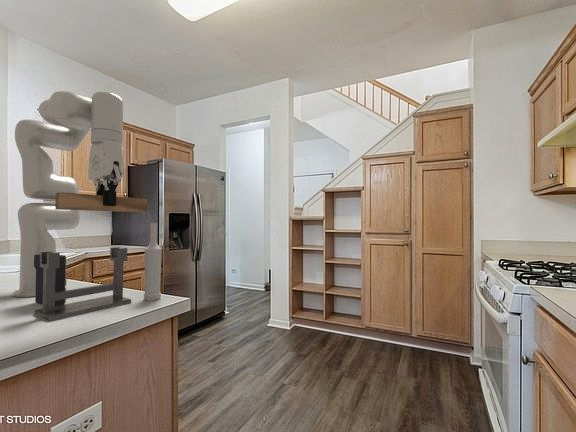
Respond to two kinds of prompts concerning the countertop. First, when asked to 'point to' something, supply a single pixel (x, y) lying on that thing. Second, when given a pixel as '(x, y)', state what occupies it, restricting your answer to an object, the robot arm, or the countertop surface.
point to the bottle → (152, 267)
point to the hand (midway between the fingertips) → (106, 205)
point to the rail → (98, 203)
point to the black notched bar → (59, 279)
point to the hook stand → (80, 289)
